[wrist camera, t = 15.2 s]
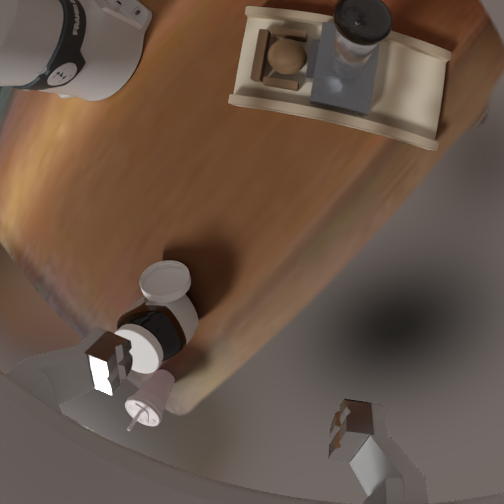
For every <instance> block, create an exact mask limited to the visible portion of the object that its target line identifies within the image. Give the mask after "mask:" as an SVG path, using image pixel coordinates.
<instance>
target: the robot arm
mask: <svg viewBox="0 0 504 504" xmlns="http://www.w3.org/2000/svg"><path fill="white" fill-rule="evenodd" d="M138 12H140V13H139V14H138ZM137 14H138V15H137ZM151 19H152V12H151V11H150V10H149V9H148V8H147V7H145V6H144V5H143V4H142V3H141V2H139V1H138V0H0V86H12V87H14V88H16V89H23V90H28V91H29V90H39V91H45V92H51V93H57V94H58V95H59V97H61V98H72V97H78V98H81V99H84V100H87V101H98V100H102V99H105V98H107V97H109V96H111V95H113V94H114V93H116V92H117V91H118V90H119V89H120V88H121V87H122V86H123V85H124V84H125V83H126V82H127V81H128V80H129V78H130V77H131V75H132V74H133V72H134V70H135V69H136V67H137V65H138V62H139V60H140V57H141V53H142V48H143V40H144V34H145V31H146V30H147V28H148V26H149V24H150V22H151ZM131 348H132V345H131V341H130V340H128V339H126V338H124V337H121V336H119V335H116V334H114V333H112V332H110V331H107V330H104V329H102V328H100V327H97V328H94V329H93V330H92V331H91V332H90V333H89V334H88V335H87V336H86V337H85V338H84V339H83V340H82V341H80V342H79V343H78V344H77V345H76V346H75V347H74V348H73V347H68V348H64V349H60V350H56V351H52V352H48V353H44V354H40V355H36V356H32V357H28V358H24V359H22V360H21V361H20V362H19V363H18V364H17V365H16V366H14V367H13V368H12V369H11V370H10V371H9V372H8V373H7V374H6V375H5V374H4V373H3V372H1V371H0V504H352V503H338V502H328V501H317V500H310V499H303V498H297V497H290V496H284V495H279V494H273V493H268V492H263V491H258V490H253V489H249V488H245V487H241V486H237V485H233V484H230V483H226V482H222V481H219V480H215V479H212V478H208V477H205V476H202V475H198V474H196V473H193V472H189V471H187V470H184V469H181V468H178V467H175V466H172V465H170V464H167V463H164V462H162V461H159V460H157V459H154V458H152V457H149V456H147V455H144V454H142V453H140V452H137V451H135V450H132V449H130V448H128V447H126V446H124V445H121V444H119V443H117V442H115V441H113V440H111V439H109V438H107V437H105V436H103V435H101V434H99V433H97V432H95V431H93V430H91V429H90V428H87V427H86V426H84V425H82V424H80V423H79V422H77V421H75V420H73V419H71V418H70V417H68V416H66V415H64V414H63V413H61V410H60V408H59V404H61V403H64V402H66V401H68V400H70V399H73V398H75V397H77V396H79V395H81V394H84V393H86V392H88V391H91V390H93V389H94V388H96V389H98V390H101V391H103V392H105V393H108V394H110V395H113V394H114V393H115V391H116V390H117V389H118V388H119V386H120V380H121V379H124V378H126V377H127V376H128V374H129V373H130V371H131V368H132V364H133V356H132V355H131V353H130V352H129V351H130V350H131ZM330 437H331V438H332V441H331V443H330V444H329V454H328V459H332V460H338V461H345V462H350V465H351V467H352V469H353V470H354V472H355V474H356V475H357V478H358V479H359V481H360V483H361V485H362V486H363V488H364V490H365V492H366V493H367V495H368V497H367V498H366V499H365V500H364V501H363V502H362V503H360V504H504V493H498V494H493V495H487V496H482V497H476V498H470V499H463V500H457V501H456V500H455V501H448V502H438V503H428V495H427V487H426V479H425V476H424V475H423V474H422V473H421V472H420V470H419V469H418V468H417V467H416V466H415V464H414V463H413V462H412V461H411V460H410V459H409V457H408V456H407V455H406V454H405V453H404V452H403V450H402V449H401V448H400V447H399V446H398V444H397V443H396V442H395V441H394V440H393V439H392V437H388V434H387V426H386V418H385V410H384V405H383V404H381V403H373V402H365V401H358V400H351V399H343V400H342V402H341V404H340V411H338V412H336V413H335V415H334V417H333V420H332V423H331V427H330Z"/></svg>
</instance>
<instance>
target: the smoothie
mask: <svg viewBox="0 0 504 504" xmlns="http://www.w3.org/2000/svg"><path fill="white" fill-rule="evenodd" d="M174 382H175V379H174V377H173V375H172V374H171V373H170V372H168V371H166V370H163V369H160V370H158V371H157V372H156V373H155V374H154V375H153V376H152V377H151V378H150V379H149V380H148V381H147V382H146V383H145V384H144V385H143V386H142V387H141V388H140V389H139V390H138V391H137V392H136V393H135V394H134V396H131V397H129V398H128V400H127V401H126V403H125V407H126V410H127V411H128V413H129V414H130V415H131V416H132V417H133V418H134V419H133V421H132V422H131V424H130V425H129V427H128V428H127V430H128V431H130V430H131V429H132V427H133V426H134V424H135V423H136V421H138V422H140V423H142V424H144V425H148V426H157V425H158V424H159V423H160V421H161V420H162V412H163V410H164V407H165V405H166V402H167V400H168V397H169V394H170V392H171V389H172V387H173V384H174Z"/></svg>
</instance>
